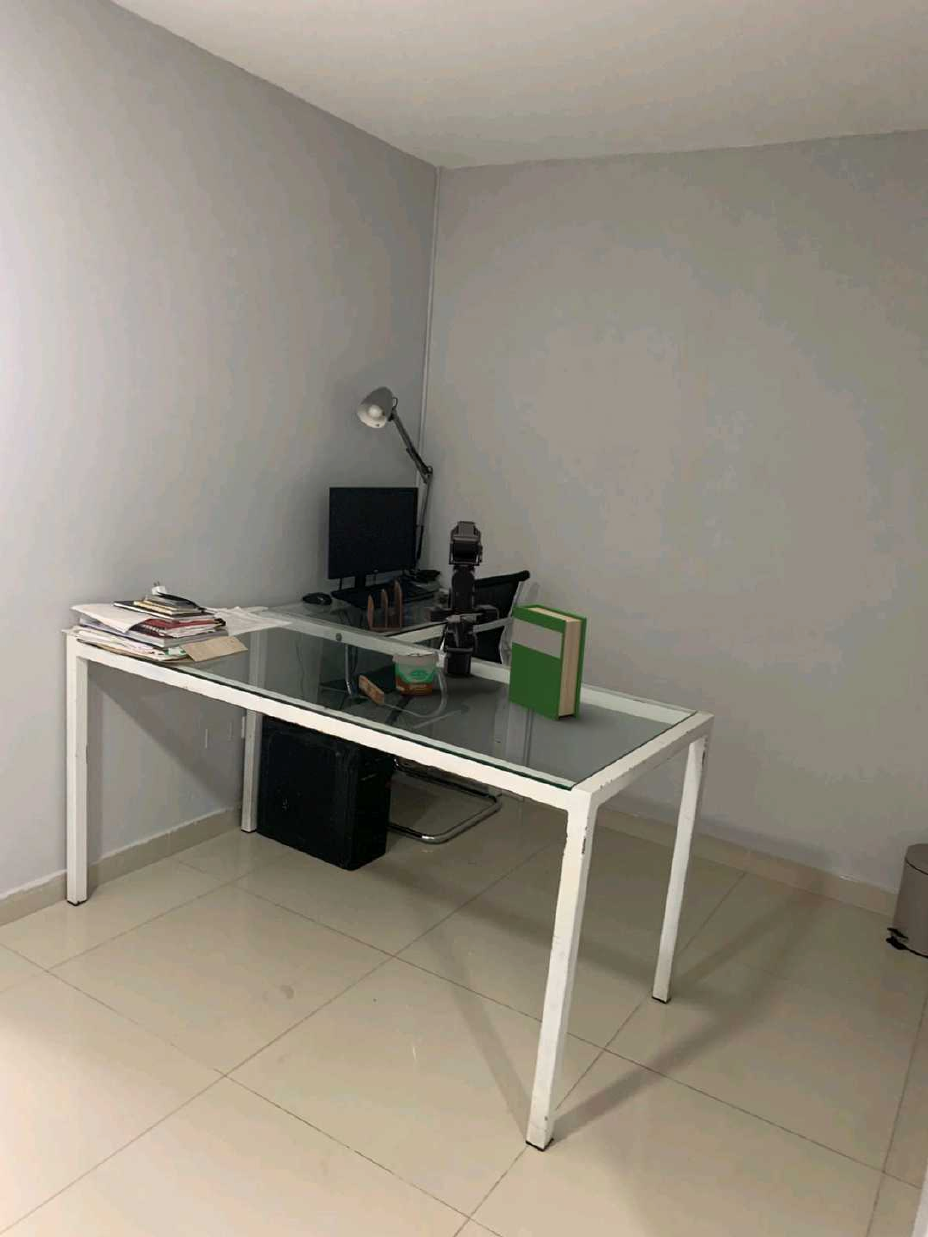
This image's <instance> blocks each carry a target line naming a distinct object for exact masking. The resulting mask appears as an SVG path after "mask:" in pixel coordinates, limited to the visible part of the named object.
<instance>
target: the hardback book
mask: <svg viewBox="0 0 928 1237" xmlns="http://www.w3.org/2000/svg"><path fill="white" fill-rule="evenodd" d="M513 614H514V615H513V628H512V629H513V630H512V642H511V656H510V669H509V670H510V671H509V672H510V673H509V682H508V683H509V684H508V685H509V686H508V697H507V698H508V699H507V701H508V702H509V701H510V702H511V703H514V704H516V705H517V706H520V707H523V708H525V709H527V710H530V711H531V712H535V713H537V714H539V715H541V716H543V717H546V718H548V719H551V720H553V721H554V722H555V721H558V720H559V717H562V716H567V715H570V716H573V717H575V718H578V717H579V713H580V703H581V694H582V693H581V691H582V680H583V668H584V667H583V666H584V656H585V647H586V645H585V644H586V634H587V622H588V618H587V617H585V616H581V615H577V614H574V613H570V612H567V611H565V610H560V609H557V608H554V607H549V606H547V605H543V604H541V603H540V604H539V603H533V604H522V605H520V604H519V605H515V606H514V613H513Z"/></svg>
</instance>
